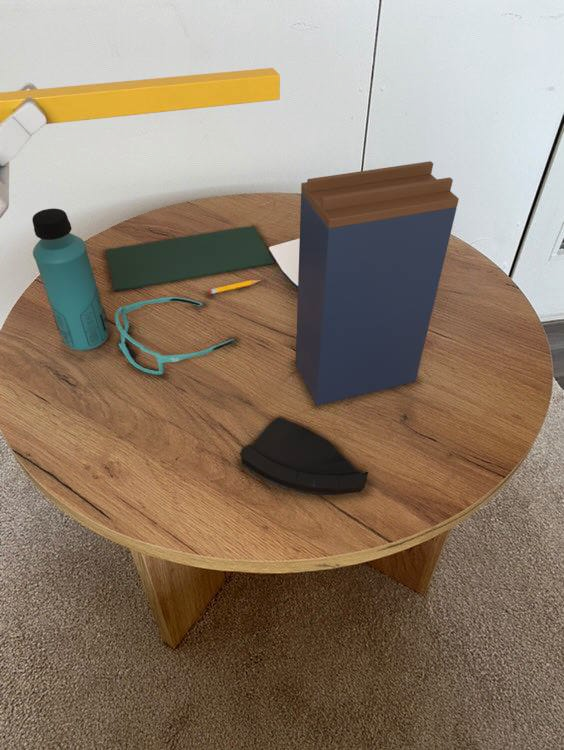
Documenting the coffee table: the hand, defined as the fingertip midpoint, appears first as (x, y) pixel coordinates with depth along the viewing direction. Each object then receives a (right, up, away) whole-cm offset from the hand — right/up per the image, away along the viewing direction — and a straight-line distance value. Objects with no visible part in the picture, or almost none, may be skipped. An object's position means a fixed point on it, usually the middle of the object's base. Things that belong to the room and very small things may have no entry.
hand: (39, 100), depth 45 cm
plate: (+29, -5, +49) cm, 58 cm away
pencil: (+12, -8, +46) cm, 48 cm away
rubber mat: (+3, -2, +52) cm, 52 cm away
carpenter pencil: (+7, 0, +3) cm, 7 cm away
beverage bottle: (-8, -17, +37) cm, 41 cm away
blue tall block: (+28, -21, +33) cm, 48 cm away
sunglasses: (+3, -16, +37) cm, 41 cm away
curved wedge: (+21, -32, +22) cm, 44 cm away
